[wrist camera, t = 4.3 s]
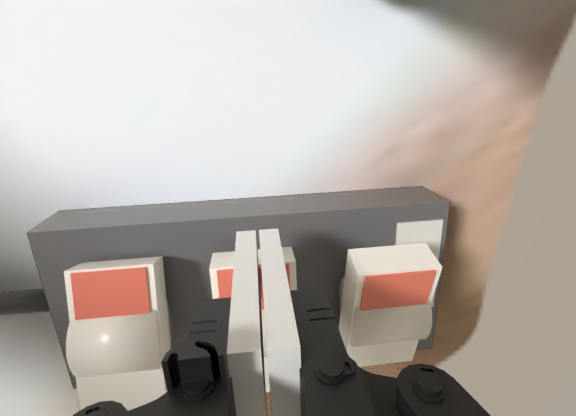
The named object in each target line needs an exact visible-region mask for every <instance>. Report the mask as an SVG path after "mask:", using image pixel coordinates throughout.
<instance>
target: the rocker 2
mask: <svg viewBox="0 0 576 416" xmlns="http://www.w3.org/2000/svg"><path fill="white" fill-rule="evenodd" d="M282 252H283V257H284V263H285V268H286V273H287V278H288V284H289V289H290V290H297V278H296V260H295V257H294V254H293V250H292V247H282ZM257 253H258V265H259V278H260V291H261V310H262V329H263V348H264V367H265V386H266V392H270V384H269V371H268V359H267V345H266V330H265V315H264V299H263V284H262V269H261V254H260V249H257ZM234 256H235V251H230V252H218V253H213V254H212V258H211V263H210V267H209V272H210V280H211V289H212V298H213V299H216V298H227V297H231V293H232V281H233V268H234Z"/></svg>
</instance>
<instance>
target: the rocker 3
mask: <svg viewBox="0 0 576 416" xmlns="http://www.w3.org/2000/svg"><path fill="white" fill-rule="evenodd" d="M442 268H443V267H442V266H441V264H440V263H439V261H438V260H437V258H436V257H435V256H434V254H433V253H432V251H431V250H430V248H429V247H428V245H427V244H426V243H417V244H405V245H393V246H381V247H369V248H357V249H348V253H347V261H346V270H345V277H343V278H342V279H341V281H340V287H339V302H340V321H339V331H340V334H341V337H342V340H343V343H344V345H345V348H346V351H347V354H348V356H349V357H350V358H351V359H353V360H354V361H355V362H356V364H357V365H358V367H363V366H372V365H380V364H389V363H397V362H406V361H412V360H413V357H414V354H415V351H416V348H417V345H418V341H419V340H421V339H426V338H427V337H428V336H429V334H430V332H431V327H432V309H431V301H432V298H433V295H434V292H435V289H436V286H437V283H438V280H439V277H440V274H441V271H442Z"/></svg>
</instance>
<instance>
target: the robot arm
mask: <svg viewBox="0 0 576 416" xmlns="http://www.w3.org/2000/svg"><path fill="white" fill-rule="evenodd" d="M259 239H260V254H261V269H262V284H263V299H264V315H265V330H266V345H267V359H268V371H269V384H270V397H271V410H272V416H490V415H489V414H488V413H487V412H486V411H485V410H484V409H483V408H482V406H480V405H479V403H478V402H477V401H476V400H474V399H473V397H472V396H471V395H470V394H469V393H468V392H467V391H466V390H465V389H464V388H463V387H462V386H461V385H460V384H459V383H458V382H457V381H456V380H455V379H454V378H453V377H451V376H450V375H449V374H447V373H446V372H445V371H443V370H441V369H438V368H436V367H434V366H431V365H425V364H415V365H409V366H408V367H406V368H404V369H402V370H401V372H400V374H399V375H398V377H397V378H394V377H387V376H381V375H376V374H372V373H369V372H367V371H365V370H363V369H361V368H360V367H358V365H357V364H356V362H355V361H354V360H353V359H351V358H350V357H349V356H348V354H347V351H346V348H345V345H344V343H343V340H342V337H341V334H340V331H339V328H338V326H337V323H336V320H335V318H334V314H333V311H332V310H331V306H330V303H329V300H328V297H327V296H326V295H325V294H324V293H323V292H322V291H321V290H319V289H318V288H312V289H301V290H290V289H289V284H288V278H287V273H286V268H285V263H284V257H283V252H282V247H281V241H280V236H279V231H278V228H277V229H264V230H259ZM161 364H162V369H163V373H164V378H165V383H166V387H167V392H166V393H165V394H164V395H162V396H161V397H159V398H158V399H156V400H154V401H152V402H149V403H147V404H145V405H142V406H139V407H137V408H134V409H132V410H129V411H127V409H126V408H125V407H124V406H123V405H122V403H118V402H115V401H101V402H97V403H95V404H92V405H89V406H87V407H85V408H84V409H82V410H80V411H79V412H77V413H76V414H74V415H73V416H267V405H266V386H265V367H264V348H263V329H262V310H261V291H260V278H259V265H258V253H257V240H256V230H251V231H238V232H236V243H235V256H234V268H233V281H232V293H231V297H227V298H216V299H205V300H203V301H202V302H201V303H200V304H199V305H198V307H197V308H196V309H195V310H194V314H193V318H192V325H191V327H190V331H189V336H188V339H187V340H184V341H182V342H180V343H178V344H176V345H174V346H173V347H172V348H171V349H170V350H169V351H168V352H167V353H166V354H165V356H164V358H163V359H162V361H161Z"/></svg>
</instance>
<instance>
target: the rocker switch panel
mask: <svg viewBox="0 0 576 416" xmlns="http://www.w3.org/2000/svg"><path fill="white" fill-rule="evenodd" d="M449 205H450V202H449V201H447V200H445V199H444V198H442V197H440V196H438V195H437V194H435V193H433V192H431V191H430V190H428V189H426V188H424V187H423V186H417V187H402V188H387V189H372V190H358V191H343V192H328V193H313V194H298V195H283V196H269V197H254V198H239V199H224V200H209V201H195V202H180V203H165V204H150V205H135V206H121V207H106V208H91V209H76V210H61V211H58V212H57V213H55V214H54V215H52V216H51V217H49V218H48V219H46V220H45V221H43V222H42V223H40V224H39V225H37V226H36V227H34V228H33V229H31V230H30V231H28V232H27V236H28V239H29V242H30V246H31V249H32V252H33V256H34V259H35V262H36V266H37V269H38V272H39V276H40V279H41V282H42V286H43V289H33V290H21V291H10V292H0V316H2V315H13V314H24V313H34V312H45V311H50V312H51V316H52V319H53V322H54V326H55V329H56V332H57V336H58V339H59V342H60V346H61V349H62V352H63V356H64V359H65V362H66V365H67V369H68V372H69V375H70V379H71V382H72V385H73V389H74V388H77V384H76V377H75V376H74V375H73V374H72V373H71V371H70V369H69V366H68V362H67V357H66V338H67V331H68V327H69V323H70V322H69V313H68V304H67V296H66V287H65V278H64V271H65V270H67V269H70V268H72V267H74V266H76V265H78V264H80V263H85V262H97V261H109V260H121V259H134V258H146V257H158V256H163V266H164V277H165V288H166V298H167V300H168V303H169V307H170V313H171V348H172V347H173V346H174V345H176V344H178V343H180V342H182V341H184V340H187V339H188V336H189V331H190V327H191V325H192V318H193V314H194V310H195V309H196V308H197V307H198V305H199V304H200V303H201V302H202V301H203V300H205V299H213V298H212V289H211V280H210V272H209V267H210V263H211V258H212V254H213V253H218V252H230V251H235V243H236V232H238V231H251V230H256V240H257V249H260V239H259V230H264V229H277V228H278V231H279V236H280V241H281V247H292V250H293V254H294V257H295V260H296V278H297V290H301V289H312V288H318V289H319V290H321V291H322V292H323V293H324V294H325V295H326V296H327V297H328V300H329V303H330V306H331V310H332V311H333V314H334V318H335V320H336V323H337V326H338V328H339V321H340V302H339V287H340V281H341V279H342V278H343V277H345V270H346V261H347V253H348V249H357V248H369V247H381V246H393V245H405V244H417V243H426V244H427V245H428V247H429V248H430V250H431V251H432V253H433V254H434V256H435V257H436V258H437V260H438V261H439V263H440V264H441V266H442V263H443V255H444V247H445V239H446V230H447V222H448V214H449ZM441 272H442V271H441ZM440 280H441V274H440V277H439V280H438V283H437V286H436V289H435V292H434V295H433V298H432V301H431V309H432V327H431V332H430V334H429V336H428V337H427V338H426V339H421V340H419V341H418V345H417V348H416V350H419V349H427V348H432V347H433V338H434V330H435V322H436V313H437V305H438V297H439V288H440Z"/></svg>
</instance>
